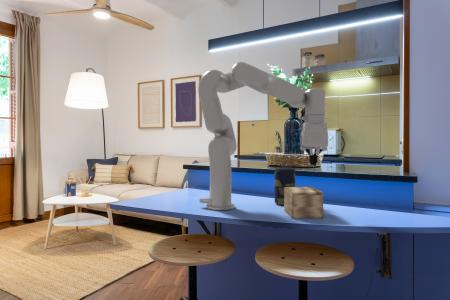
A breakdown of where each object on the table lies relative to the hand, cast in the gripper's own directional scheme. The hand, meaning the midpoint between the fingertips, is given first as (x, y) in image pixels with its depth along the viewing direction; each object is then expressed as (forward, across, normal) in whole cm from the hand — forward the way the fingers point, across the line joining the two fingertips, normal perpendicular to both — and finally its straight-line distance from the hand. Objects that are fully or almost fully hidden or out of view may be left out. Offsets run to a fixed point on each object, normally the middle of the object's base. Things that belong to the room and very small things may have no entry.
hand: (313, 165), depth 131 cm
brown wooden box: (+20, -4, 0) cm, 20 cm away
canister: (+20, -7, +20) cm, 29 cm away
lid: (+11, -4, 0) cm, 11 cm away
